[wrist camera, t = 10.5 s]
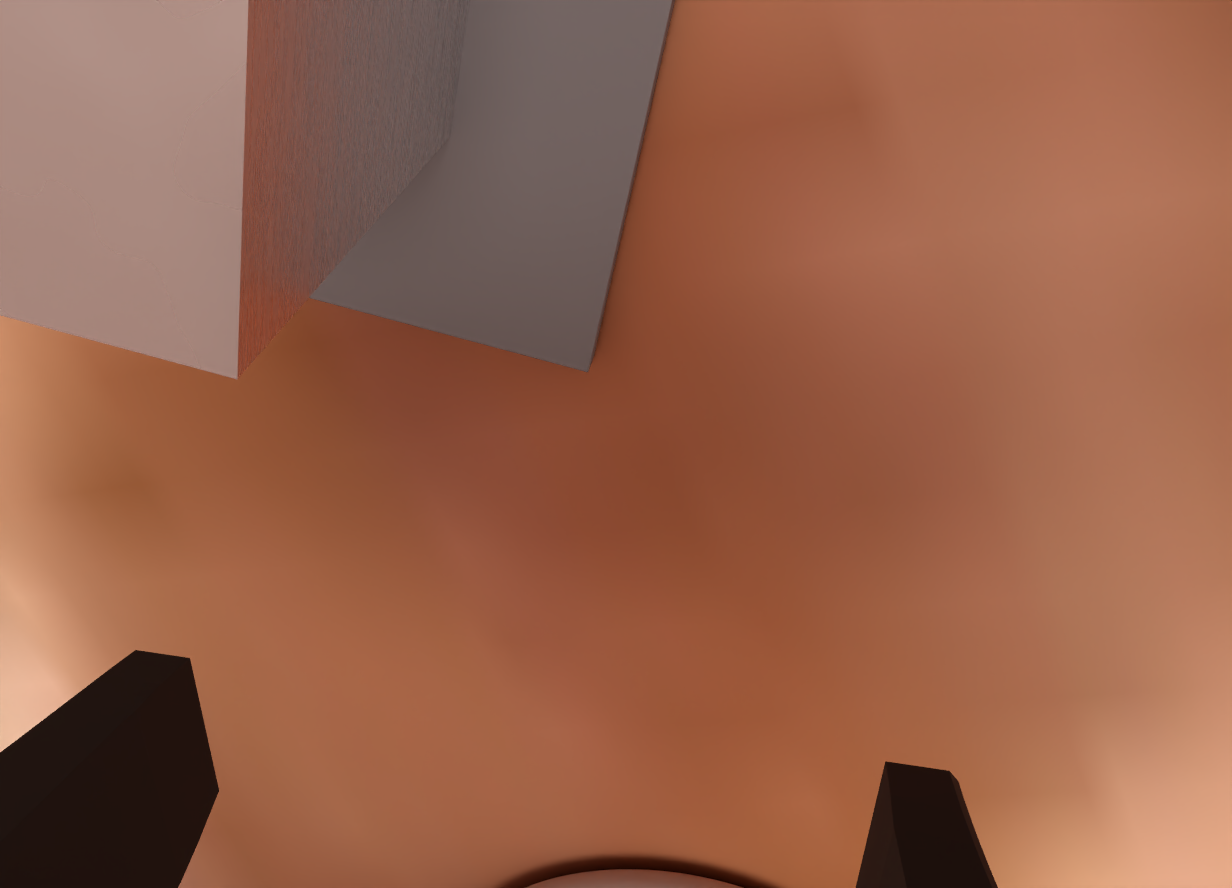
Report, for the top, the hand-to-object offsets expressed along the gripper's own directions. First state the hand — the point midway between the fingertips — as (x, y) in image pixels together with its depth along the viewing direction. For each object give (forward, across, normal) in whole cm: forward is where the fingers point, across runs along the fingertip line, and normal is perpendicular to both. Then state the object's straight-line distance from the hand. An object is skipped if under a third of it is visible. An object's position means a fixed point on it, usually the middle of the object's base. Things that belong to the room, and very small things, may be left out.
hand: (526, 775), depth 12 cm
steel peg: (+10, +5, -6) cm, 12 cm away
